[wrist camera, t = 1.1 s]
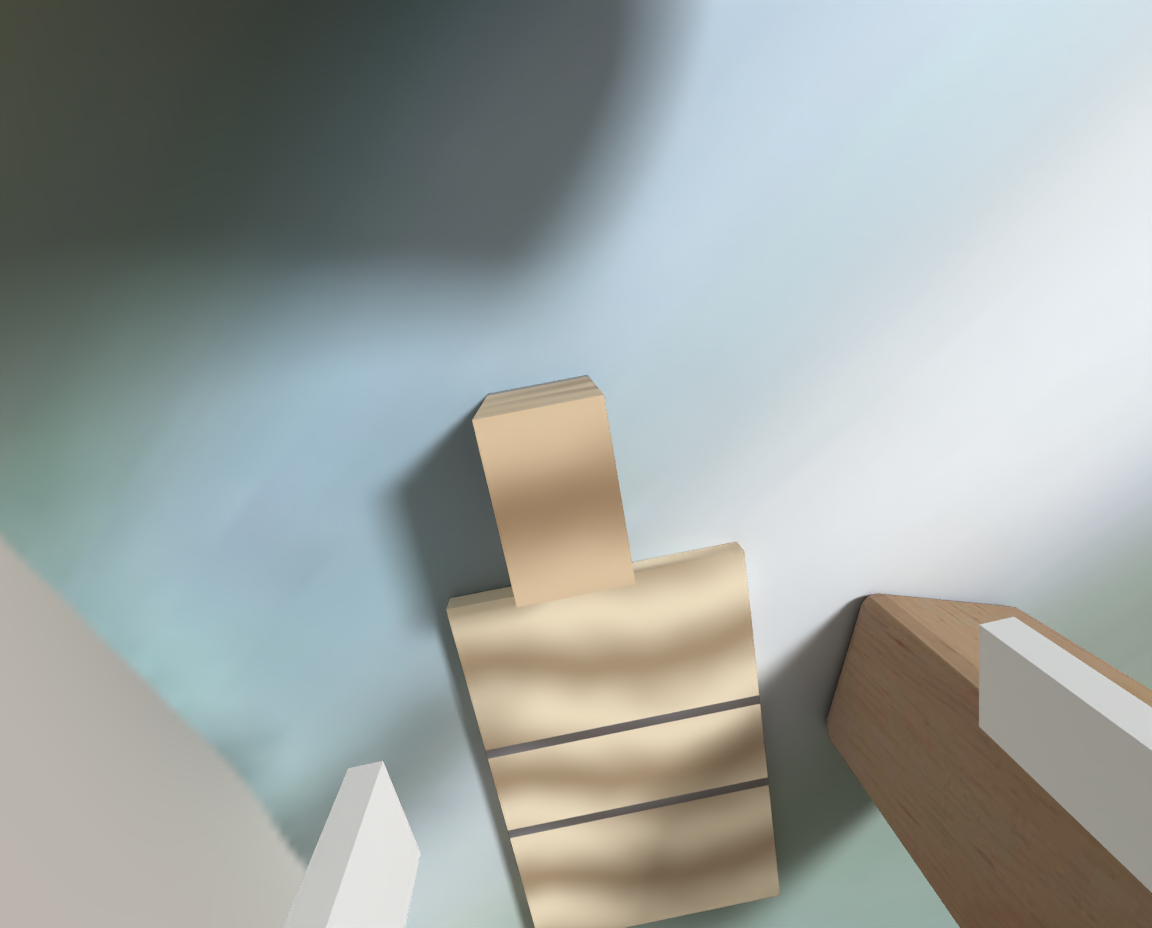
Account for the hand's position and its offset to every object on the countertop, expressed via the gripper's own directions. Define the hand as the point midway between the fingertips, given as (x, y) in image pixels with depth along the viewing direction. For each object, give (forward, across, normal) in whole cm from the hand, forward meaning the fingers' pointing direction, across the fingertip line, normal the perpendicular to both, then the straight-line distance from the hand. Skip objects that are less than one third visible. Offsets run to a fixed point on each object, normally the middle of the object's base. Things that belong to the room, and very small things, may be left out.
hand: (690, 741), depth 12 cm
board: (+17, -2, -17) cm, 24 cm away
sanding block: (+18, -2, +2) cm, 18 cm away
